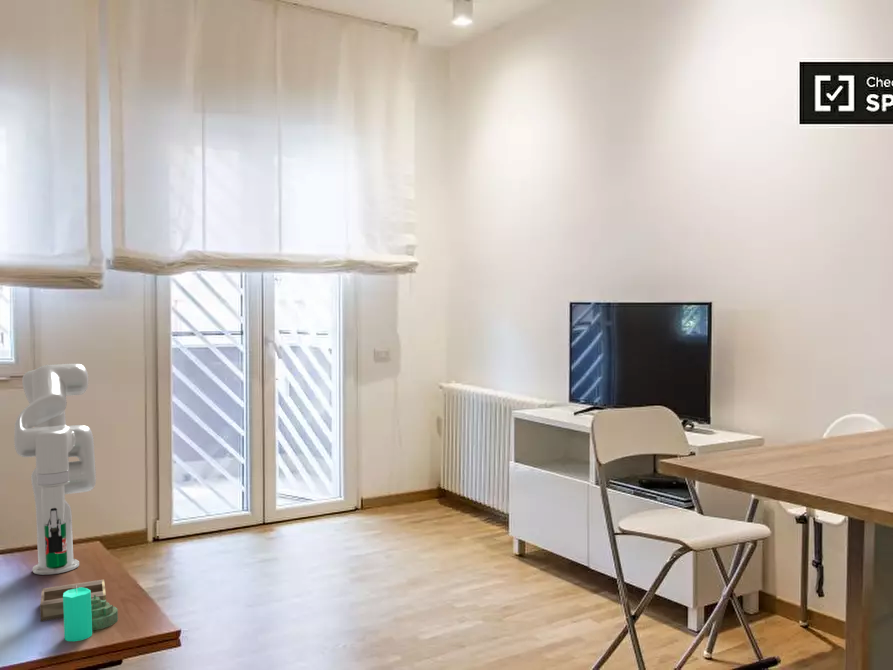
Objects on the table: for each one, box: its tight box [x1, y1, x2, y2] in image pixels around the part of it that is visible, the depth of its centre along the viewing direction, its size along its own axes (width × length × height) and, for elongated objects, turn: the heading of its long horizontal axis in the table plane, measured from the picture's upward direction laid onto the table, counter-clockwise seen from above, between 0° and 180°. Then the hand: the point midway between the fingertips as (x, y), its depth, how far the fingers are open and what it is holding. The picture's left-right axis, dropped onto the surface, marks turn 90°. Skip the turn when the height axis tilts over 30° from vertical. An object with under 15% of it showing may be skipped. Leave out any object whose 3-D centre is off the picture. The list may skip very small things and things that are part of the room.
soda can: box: [44, 521, 68, 569], centre depth 207 cm, size 5×5×12 cm
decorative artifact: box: [91, 595, 119, 631], centre depth 198 cm, size 10×7×10 cm
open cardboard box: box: [39, 579, 107, 622], centre depth 209 cm, size 14×15×4 cm
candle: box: [63, 586, 93, 642], centre depth 190 cm, size 6×6×12 cm
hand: (55, 548), depth 207 cm, fingers closed on soda can, 5 cm apart
